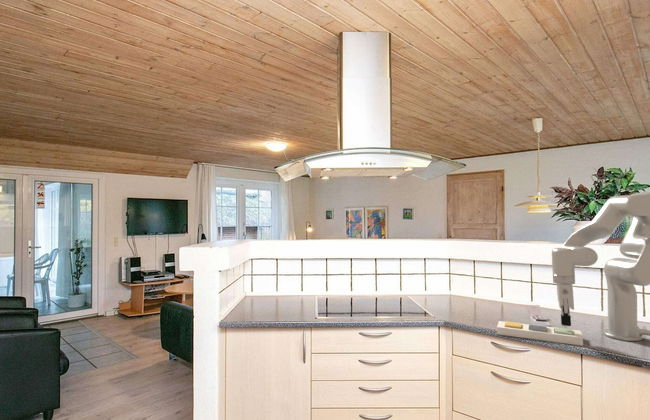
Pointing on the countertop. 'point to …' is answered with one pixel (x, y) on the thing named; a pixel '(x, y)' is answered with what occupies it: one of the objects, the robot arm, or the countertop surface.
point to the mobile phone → (537, 314)
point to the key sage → (563, 331)
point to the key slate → (537, 326)
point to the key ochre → (513, 325)
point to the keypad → (540, 334)
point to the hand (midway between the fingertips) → (566, 325)
